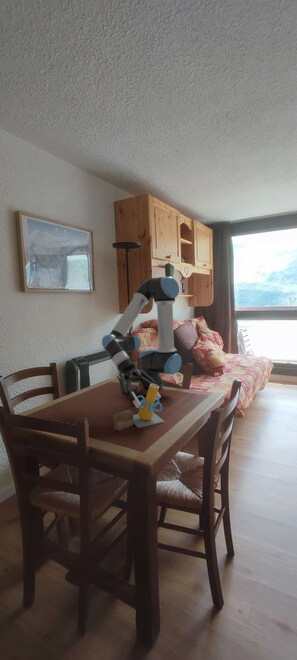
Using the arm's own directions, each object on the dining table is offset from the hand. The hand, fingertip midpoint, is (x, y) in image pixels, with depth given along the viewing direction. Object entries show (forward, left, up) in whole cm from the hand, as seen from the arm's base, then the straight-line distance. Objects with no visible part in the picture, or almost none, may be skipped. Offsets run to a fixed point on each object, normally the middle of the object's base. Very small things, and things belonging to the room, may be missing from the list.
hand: (149, 402), depth 128 cm
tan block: (+12, +1, -8) cm, 15 cm away
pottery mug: (-7, -28, -9) cm, 30 cm away
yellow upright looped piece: (+2, -2, -7) cm, 7 cm away
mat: (+1, -2, -8) cm, 9 cm away
